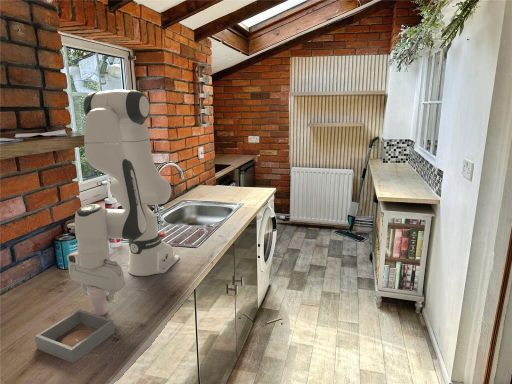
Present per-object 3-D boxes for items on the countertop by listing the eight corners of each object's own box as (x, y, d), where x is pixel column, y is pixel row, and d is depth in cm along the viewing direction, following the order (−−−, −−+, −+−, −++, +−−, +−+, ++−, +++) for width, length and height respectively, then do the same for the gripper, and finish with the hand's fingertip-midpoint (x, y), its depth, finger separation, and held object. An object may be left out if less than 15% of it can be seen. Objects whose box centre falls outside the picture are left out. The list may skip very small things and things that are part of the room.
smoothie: (114, 306, 115) (110, 267, 112) (107, 317, 109) (102, 277, 106) (94, 306, 115) (90, 268, 112) (86, 318, 109) (81, 277, 106)
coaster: (79, 328, 104) (79, 327, 104) (99, 335, 101) (98, 334, 101) (54, 345, 97) (54, 343, 96) (75, 353, 93) (75, 351, 93)
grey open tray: (80, 320, 108) (79, 309, 107) (114, 332, 102) (113, 320, 101) (37, 348, 95) (35, 336, 94) (73, 363, 90) (71, 350, 89)
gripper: (127, 258, 106) (131, 299, 110) (79, 248, 114) (84, 286, 118) (112, 267, 101) (116, 309, 104) (62, 255, 109) (68, 295, 112)
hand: (99, 297), depth 111 cm, fingers open, 8 cm apart
